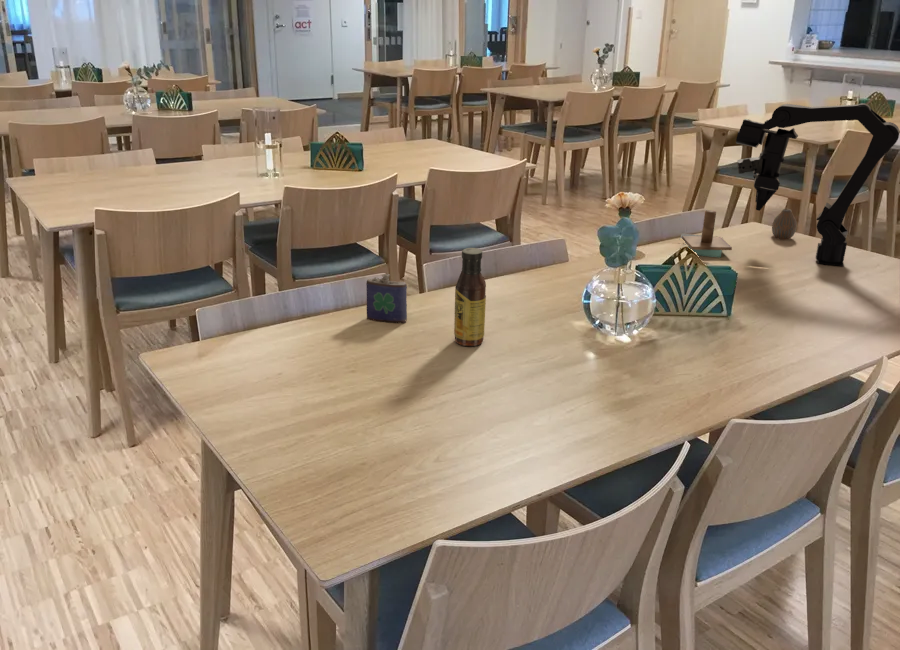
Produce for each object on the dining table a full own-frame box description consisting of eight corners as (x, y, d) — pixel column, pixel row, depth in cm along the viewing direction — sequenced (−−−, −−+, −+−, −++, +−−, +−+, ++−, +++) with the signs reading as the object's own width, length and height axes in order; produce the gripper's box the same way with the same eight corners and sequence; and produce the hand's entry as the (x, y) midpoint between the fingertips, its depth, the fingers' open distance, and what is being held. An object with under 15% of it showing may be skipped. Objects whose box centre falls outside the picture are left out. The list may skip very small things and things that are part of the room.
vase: (796, 241, 242) (801, 213, 239) (772, 240, 243) (776, 211, 240) (792, 235, 248) (797, 207, 245) (768, 234, 249) (773, 206, 246)
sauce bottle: (452, 336, 169) (454, 245, 162) (482, 335, 170) (485, 244, 163) (455, 348, 163) (457, 254, 156) (486, 348, 164) (489, 254, 156)
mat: (722, 238, 244) (722, 237, 243) (720, 249, 233) (720, 247, 233) (681, 234, 247) (681, 233, 247) (677, 244, 237) (678, 243, 237)
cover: (720, 239, 234) (724, 207, 230) (731, 250, 223) (736, 216, 220) (682, 238, 234) (686, 206, 230) (691, 249, 224) (696, 215, 220)
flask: (408, 320, 178) (408, 274, 174) (404, 325, 175) (403, 278, 171) (369, 315, 180) (367, 270, 176) (364, 320, 177) (362, 274, 173)
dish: (722, 250, 232) (723, 241, 231) (720, 258, 224) (721, 250, 223) (689, 246, 235) (690, 238, 234) (687, 255, 227) (688, 246, 226)
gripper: (743, 140, 231) (728, 193, 237) (743, 151, 214) (727, 208, 221) (784, 147, 228) (768, 200, 234) (787, 160, 212) (769, 216, 218)
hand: (757, 206), depth 227 cm, fingers open, 9 cm apart
